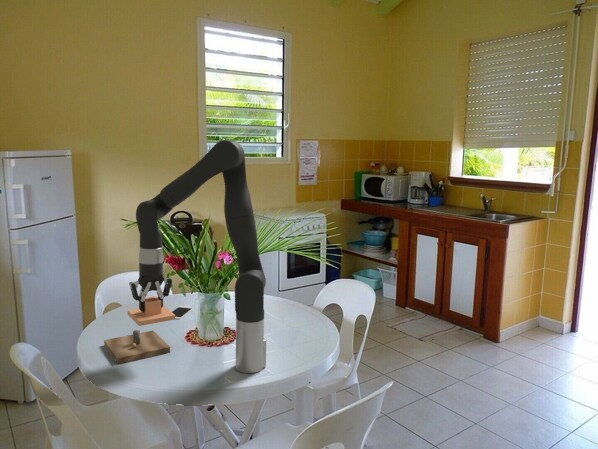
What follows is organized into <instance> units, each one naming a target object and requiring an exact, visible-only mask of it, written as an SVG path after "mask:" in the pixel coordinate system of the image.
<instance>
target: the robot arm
mask: <svg viewBox="0 0 598 449" xmlns="http://www.w3.org/2000/svg"><path fill="white" fill-rule="evenodd" d="M246 169H247V168H246V155H245V150H244V148H243V146H242V145H241V144H240V142H238V141H237V140H233V139H222V140H219V141H217V142H216V143H215V144H214V145H213V147H211V148H210V150H208V152H207V153H206V154H205V155H204V156H203V157H202V158H201V159H200V160H198V162H196V163H195V164H194V165H192V166H191V168H189V169H188V170H186V171H185V172H183V173H182V174H180V175H179V176H178V177H176V178H175V179H173V180H172V181H171V182H169V183H168V184H167V185H166V186H164V187H163V188H162V189H160V191H159V193H158V194H157V195H156V196H154V197H152V198H151V199H149V200H144V201H142V202H140V203H139V204H138V205H137V207H136V211H135V219H136V224H137V230H138V232H139V252H138V275H139V276H138V279H137V280H136V281H134V282H132V281H130V282H129V287H130V288H129V289H130V292H131V295H132V298H133V299H134V300H135V301H137V302H138V309H140V310H141V311H142V312H145V301H144V300H145V298H147V295H148V292H151V291H155V293H156V295H157V298H158V299H159V300H161V308H162V307H163V306H164V298H165V297H168V296H170V293H171V292H170V291H171V287H172V283H173V279H172V278H170V277H164V253H163V252H164V250H163V234H162V231H161V229H159V226H158V221H159V220H161V219H162V218H164V217H166V216H167V215H168V214H169V213H170V212H171V211H172V210H173V209H174V208H175V207H177V206H179V205H180V204H182V203H183V202H184V201H186V200H187V199H188V198H189V197H191V196H192V195H193V194H194V193H196V192H197V191H198V190H199V189H200V188H201V187H202V186H203V185H204V184H205V183H206V182H208V181H209V180H210V179H211V180H212V178H214V177H215V176H217V175H220V174H222V177H223V183H224V201H223V202H224V203H223V213H224V220H225V225H226V226H225V227H226V229H227V234H228V237H229V239H230V242H231V245H232V247H233V249H234V251H235V255H236V259H237V267H238V268H237V270H238V277H237V279H236V280H235V284H234V310H235V370H237V371H238V372H240V373H243V374H253V373H258V372H261V371H262V370H263V369H264V368H266V367H267V340H266V339H265V309H264V306H265V305H264V303H265V302H264V299H265V296H264V295H265V294H264V293H265V287H266V275H265V273H264V269H263V266H262V262H261V257H260V254H259V245H258V235H257V227H256V220H255V215H254V214H255V213H254V210H253V205H252V199H251V194H250V190H249V187H248V181H247V172H246V171H247V170H246ZM162 284H164V287H163V289H162V287H161V285H162ZM138 286H140V287H141V288H140V291H139V294H138V290H137V289H138V288H139V287H138Z"/></svg>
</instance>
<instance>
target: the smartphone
mask: <svg viewBox="0 0 598 449" xmlns="http://www.w3.org/2000/svg"><path fill="white" fill-rule="evenodd" d="M194 309H195V307H194V306H187V305H186V306H185V305H178V307H176V308H175V309H173V310H172V311H171V312H172V313H173V314H175V320H179V321H180V320H181V319H182V318H184V317H185V316H186V315H188V314H190V312H192V310H194Z"/></svg>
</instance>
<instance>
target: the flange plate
mask: <svg viewBox="0 0 598 449" xmlns="http://www.w3.org/2000/svg"><path fill="white" fill-rule="evenodd" d="M144 301H145V312H142V311H141V310H140V309H139V308H133V309H127V310H126V311H127V316H128V317H129V318H131V320H132V321H133V322H134V323H135V324H136V325H138V326H139V327H142V326H147V325H153V324H157V323H163V322H169V321H175V320H176V319H175V314H173V313H172V311H171V310H169V309H168V308H167V307H166V306H164V305H163V307H162V308H161V300H159V299H158V296H152V297H151V296H150V297H145V300H144Z"/></svg>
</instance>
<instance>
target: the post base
mask: <svg viewBox="0 0 598 449" xmlns="http://www.w3.org/2000/svg"><path fill="white" fill-rule="evenodd" d="M103 343H104V344H103V345H104V347H105V348H106V350H107V351H108V353H109V354H110V356H111V357H112V358H113V360H114V361H115V362H117V363H116V364H117V365H121V364H125V363H128V362H133V361H137V360H142V359H146V358H151V357H154V356H159V355H163V354H169V353H171V346H170V345H169V344H168V343H167V342H166V341H165V340H164V339H163V338H162V337H160V335H159V334H158V333H157V332H156V331H154V330H149V331H143V332H141V331H140V330H139V329H138V330H137V329H135V330H133V331H132V334H129V335H122V336H118V337H113V338H108V339H104V340H103ZM120 363H121V364H120Z"/></svg>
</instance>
